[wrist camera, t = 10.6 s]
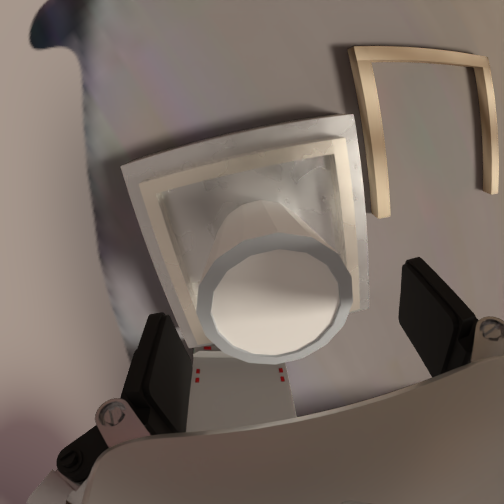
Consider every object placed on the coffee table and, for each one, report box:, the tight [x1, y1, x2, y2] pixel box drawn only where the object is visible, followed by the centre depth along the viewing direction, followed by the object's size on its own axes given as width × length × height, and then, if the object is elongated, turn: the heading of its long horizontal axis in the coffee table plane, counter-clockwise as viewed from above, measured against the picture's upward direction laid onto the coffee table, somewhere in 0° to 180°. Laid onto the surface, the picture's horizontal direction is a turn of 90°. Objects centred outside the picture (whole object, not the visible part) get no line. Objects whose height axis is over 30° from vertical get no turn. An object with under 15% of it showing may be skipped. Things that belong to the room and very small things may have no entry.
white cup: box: [196, 200, 353, 365], centre depth 16 cm, size 7×7×7 cm
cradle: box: [347, 46, 499, 219], centre depth 18 cm, size 12×13×1 cm
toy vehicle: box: [186, 345, 297, 432], centre depth 25 cm, size 9×18×10 cm, turn 178°
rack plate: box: [121, 114, 369, 348], centre depth 20 cm, size 14×14×4 cm
